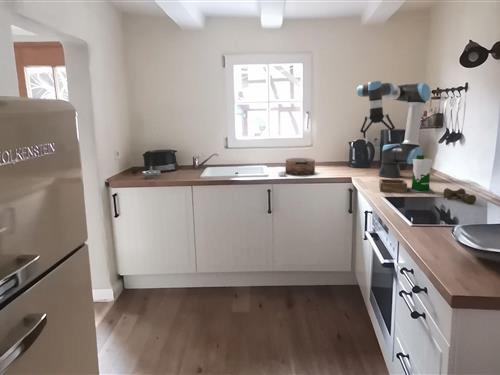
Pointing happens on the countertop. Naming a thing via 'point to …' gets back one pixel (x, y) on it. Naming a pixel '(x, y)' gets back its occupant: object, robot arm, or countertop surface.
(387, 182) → the collar
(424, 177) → the soya milk
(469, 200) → the kendama
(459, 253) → the countertop surface
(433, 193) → the rubber mat
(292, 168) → the wicker basket
